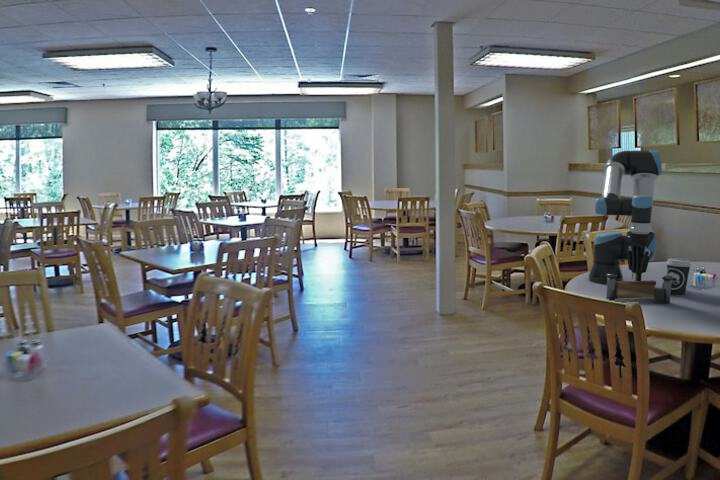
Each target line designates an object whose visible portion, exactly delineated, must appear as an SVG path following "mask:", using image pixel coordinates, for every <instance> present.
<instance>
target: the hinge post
mask: <svg viewBox="0 0 720 480" xmlns="http://www.w3.org/2000/svg"><path fill="white" fill-rule="evenodd" d="M607 276H608V279H607V284H606V297H605V298H606V299H609V300H608V301H610V300H614V301H615V300H616V299H615V287H616V277H617V274H613V273H608V274H607ZM606 299H605V300H606Z"/></svg>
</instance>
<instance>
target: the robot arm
mask: <svg viewBox="0 0 720 480" xmlns="http://www.w3.org/2000/svg"><path fill="white" fill-rule="evenodd" d="M602 171H603V175H604V177H603V186H602V190H601V191H602V193H601V197H597V198H596V199H595V207H594V211H595V215H599V216H600V215H601V216H628V217H629V216H630V228H629V230H627V231H626V235H623V233H622V232H620V231H607V232H600V233H598V234H597V233H596V235H595V236H594V241H593V246H594V247H593V262H592V266H591V268H590V271H589V273H588V280H589V281H590V282H593V283H597V284H598V283H599V284H606V285H607V279H608V276H607V274H608V273H613V274H617V277H616V281H624V276H623V271H622V269H621V261H627V264H628V270H629V271H631V273H632V274H631V279H632V281H642V274H644V273H647V269H648V266H649V262H650V263H651V262H652V261H654V259H655V255H656V249H657V245H658V242H659V241H658V240H659V237H658V236H656V235H655V231H653V230H652V223H653V221H652V220H653V209H654V208H653V206H654V192H655V191H654V188H655V181H657V180H659V179H658V178H659V176H661V175H662V172H663V168H662V156H661V153H660V152H659V150H651V149H648V150H621V151H619V152H616V153H614V154H613V155H612V156H610V157H609V158H608V159H607V160H606V161H605V163H604V165H603V169H602ZM624 175H625V176H630V180H632V181H633V192H632V198H623V197H622V198H621V190H622V180H623V176H624Z"/></svg>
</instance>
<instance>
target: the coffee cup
mask: <svg viewBox="0 0 720 480" xmlns="http://www.w3.org/2000/svg"><path fill="white" fill-rule="evenodd" d="M665 265H666V275H667V276H672V277H673V279H672V282H671V296H680V297H681V296H685V295H686V291H687V285H688V280H689V273H690V269H691V267H692V263H691V261H690V260H689V259H686V258H679V257H672V258H671V257H670V258H668V259H667V261H666V262H665Z"/></svg>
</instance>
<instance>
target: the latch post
mask: <svg viewBox="0 0 720 480" xmlns="http://www.w3.org/2000/svg"><path fill="white" fill-rule="evenodd" d="M661 279H662V283H661V288H658V287H657V288H656V287H655V294H654V298H653V304H655V305H656V304H657V305H658V304H660V305H661V304H662V305H664V304H670V303H671V296H672V295H671V282H672V279H673V277H672V276H667V274H666V275H661Z"/></svg>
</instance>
